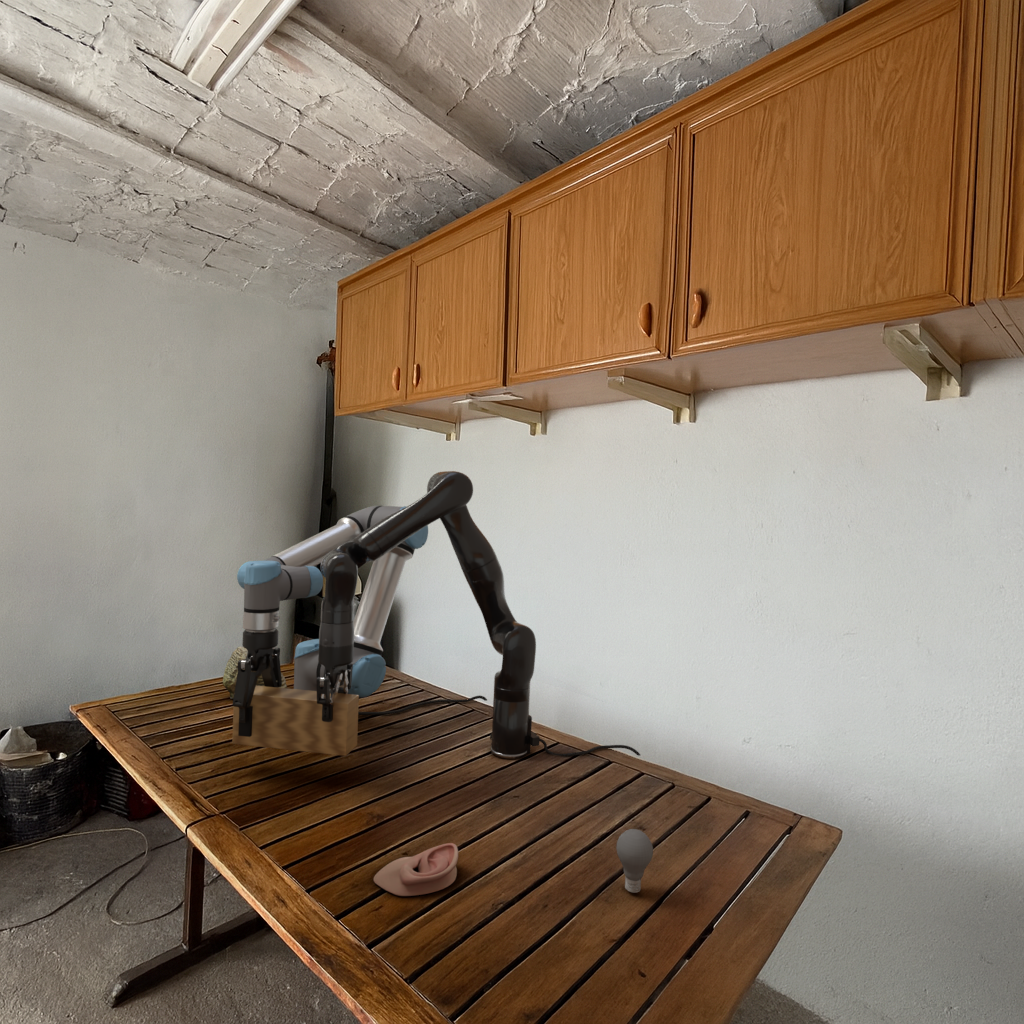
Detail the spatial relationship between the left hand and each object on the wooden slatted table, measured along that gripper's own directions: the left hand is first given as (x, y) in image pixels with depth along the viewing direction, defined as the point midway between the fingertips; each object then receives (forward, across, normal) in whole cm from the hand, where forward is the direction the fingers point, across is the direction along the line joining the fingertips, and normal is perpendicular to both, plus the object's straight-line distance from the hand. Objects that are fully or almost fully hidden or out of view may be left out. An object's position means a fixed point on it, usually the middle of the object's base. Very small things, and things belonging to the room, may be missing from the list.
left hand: (257, 727), depth 144 cm
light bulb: (+10, -26, -83) cm, 88 cm away
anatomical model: (+10, -30, -47) cm, 57 cm away
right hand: (-4, 0, -18) cm, 19 cm away
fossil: (+10, +50, +30) cm, 59 cm away
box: (+3, 0, -9) cm, 10 cm away
